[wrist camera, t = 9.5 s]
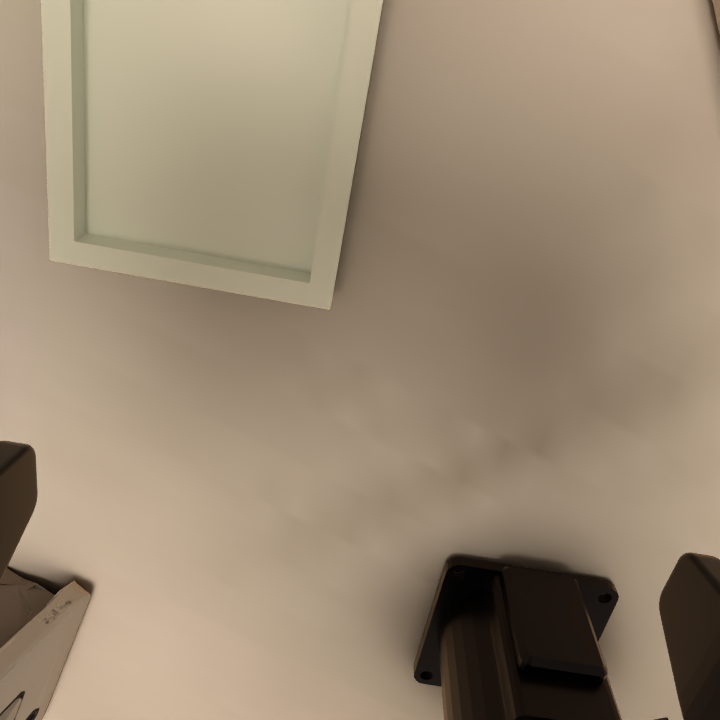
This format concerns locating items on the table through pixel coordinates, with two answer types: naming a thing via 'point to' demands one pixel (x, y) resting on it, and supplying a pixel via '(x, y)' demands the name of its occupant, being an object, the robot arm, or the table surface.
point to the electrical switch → (34, 642)
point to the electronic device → (717, 11)
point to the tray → (206, 138)
